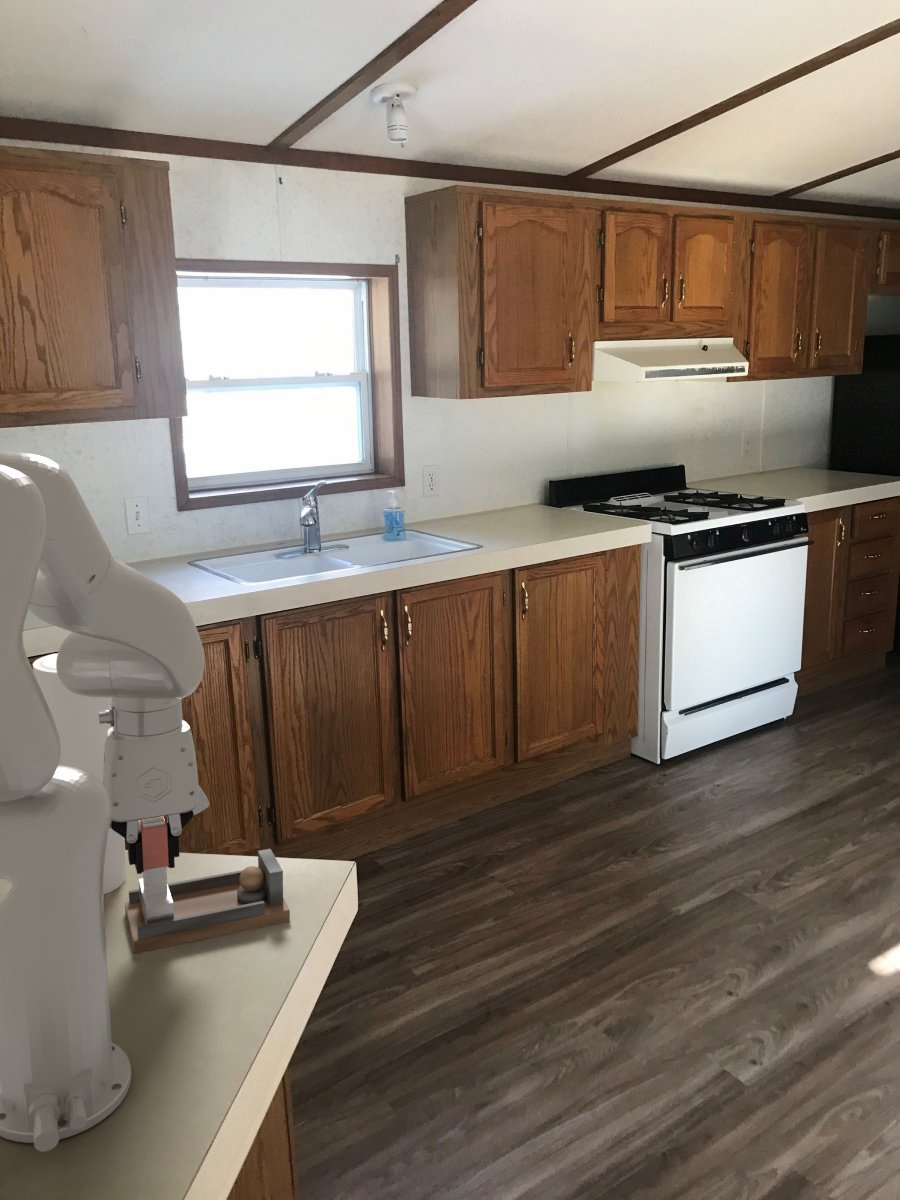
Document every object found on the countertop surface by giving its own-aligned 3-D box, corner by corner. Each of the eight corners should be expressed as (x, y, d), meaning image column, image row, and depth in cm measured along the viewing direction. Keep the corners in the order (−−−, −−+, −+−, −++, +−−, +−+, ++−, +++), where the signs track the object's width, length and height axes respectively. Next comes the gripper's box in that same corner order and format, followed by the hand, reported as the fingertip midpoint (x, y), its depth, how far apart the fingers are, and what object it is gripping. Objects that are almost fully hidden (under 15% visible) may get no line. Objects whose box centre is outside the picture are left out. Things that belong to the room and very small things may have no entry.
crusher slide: (174, 926, 112) (170, 829, 110) (147, 931, 111) (142, 833, 108) (165, 896, 119) (161, 804, 116) (139, 901, 117) (134, 808, 115)
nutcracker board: (289, 921, 117) (289, 876, 116) (134, 953, 110) (132, 905, 109) (271, 885, 125) (270, 843, 124) (125, 913, 118) (123, 868, 117)
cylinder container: (33, 894, 122) (16, 665, 115) (74, 858, 131) (60, 644, 124) (102, 903, 120) (89, 671, 113) (139, 866, 129) (129, 649, 122)
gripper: (72, 737, 103) (82, 894, 107) (227, 719, 109) (231, 867, 113) (68, 714, 109) (77, 863, 113) (214, 698, 116) (218, 840, 120)
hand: (154, 864), depth 113 cm, fingers closed on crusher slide, 2 cm apart
